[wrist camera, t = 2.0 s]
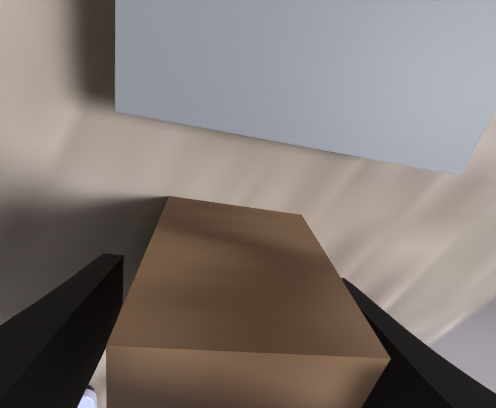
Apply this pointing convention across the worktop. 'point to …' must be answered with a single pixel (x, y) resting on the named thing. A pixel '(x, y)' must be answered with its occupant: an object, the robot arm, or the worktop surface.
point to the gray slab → (317, 72)
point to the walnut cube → (239, 318)
